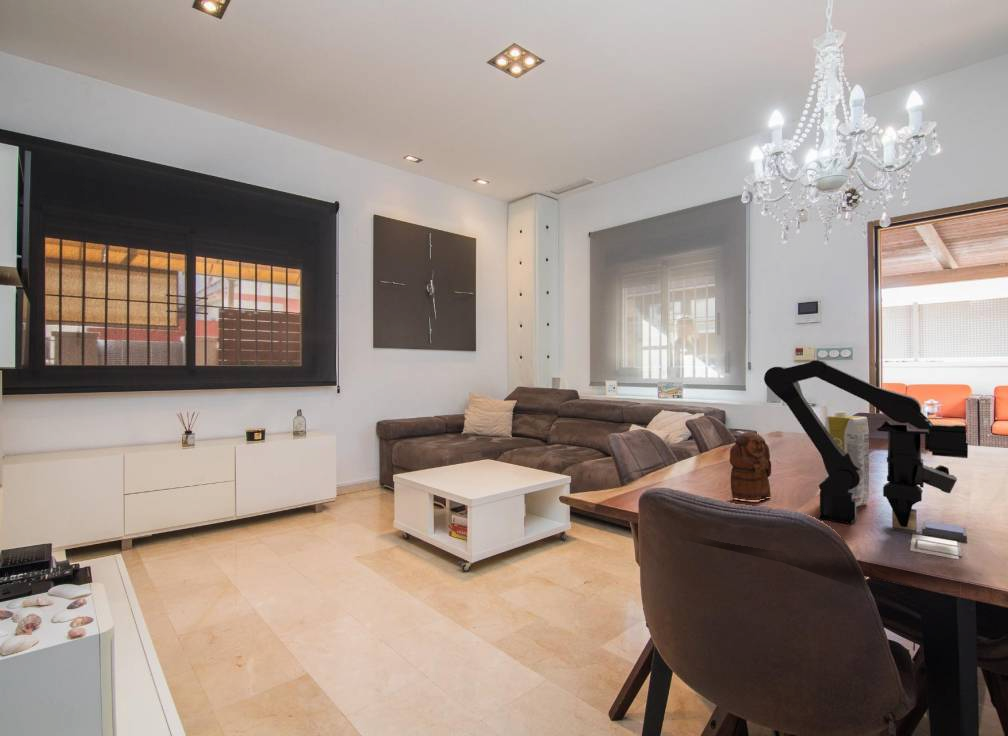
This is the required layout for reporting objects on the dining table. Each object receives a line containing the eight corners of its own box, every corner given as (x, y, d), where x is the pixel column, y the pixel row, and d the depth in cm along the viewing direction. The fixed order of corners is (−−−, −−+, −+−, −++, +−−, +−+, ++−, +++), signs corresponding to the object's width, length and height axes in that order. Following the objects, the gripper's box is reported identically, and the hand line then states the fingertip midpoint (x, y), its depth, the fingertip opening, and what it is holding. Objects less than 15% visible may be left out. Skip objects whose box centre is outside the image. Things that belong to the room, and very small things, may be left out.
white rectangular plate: (910, 550, 97) (910, 549, 97) (912, 534, 106) (912, 533, 106) (961, 560, 92) (961, 558, 92) (959, 542, 101) (959, 541, 101)
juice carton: (839, 497, 136) (839, 409, 136) (872, 504, 129) (872, 412, 129) (821, 502, 132) (820, 411, 132) (854, 509, 125) (853, 413, 125)
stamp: (892, 530, 109) (892, 501, 109) (893, 525, 112) (893, 497, 112) (915, 534, 107) (915, 504, 107) (916, 529, 110) (916, 500, 110)
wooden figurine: (749, 504, 130) (748, 435, 130) (727, 499, 135) (727, 432, 135) (776, 498, 135) (776, 432, 135) (754, 493, 141) (754, 430, 141)
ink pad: (922, 534, 106) (922, 526, 106) (922, 526, 112) (922, 519, 112) (966, 541, 102) (966, 534, 102) (965, 533, 107) (965, 525, 107)
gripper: (954, 463, 97) (954, 544, 97) (952, 451, 111) (953, 521, 111) (882, 457, 104) (883, 531, 104) (889, 446, 118) (889, 512, 118)
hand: (904, 524), depth 109 cm, fingers closed on stamp, 4 cm apart
